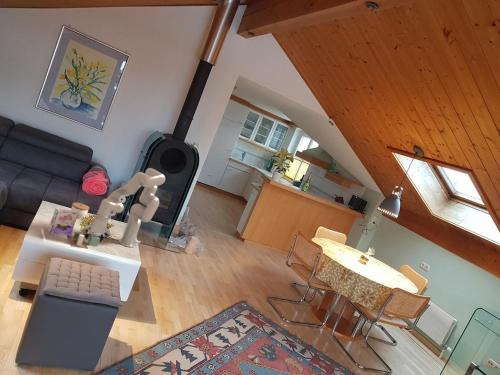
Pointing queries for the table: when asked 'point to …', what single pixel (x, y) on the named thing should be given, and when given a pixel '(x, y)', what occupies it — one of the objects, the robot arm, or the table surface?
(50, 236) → the table surface
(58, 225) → the candy box
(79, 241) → the cream post
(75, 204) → the lidded bowl
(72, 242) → the walnut board
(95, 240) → the mint green cube
